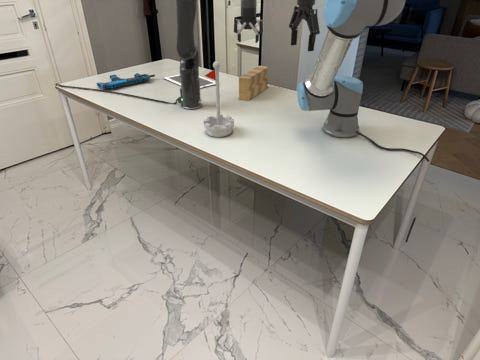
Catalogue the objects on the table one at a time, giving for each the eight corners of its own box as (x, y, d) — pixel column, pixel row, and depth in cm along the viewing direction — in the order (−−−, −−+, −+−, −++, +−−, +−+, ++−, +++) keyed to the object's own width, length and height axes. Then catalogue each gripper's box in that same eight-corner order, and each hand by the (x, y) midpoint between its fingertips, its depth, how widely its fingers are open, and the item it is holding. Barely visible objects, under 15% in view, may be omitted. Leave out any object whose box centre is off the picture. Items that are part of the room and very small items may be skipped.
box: (258, 85, 203) (259, 65, 197) (267, 87, 201) (268, 66, 194) (238, 99, 184) (238, 77, 177) (248, 100, 182) (248, 78, 175)
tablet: (163, 78, 216) (163, 77, 215) (189, 72, 227) (189, 71, 226) (191, 90, 195) (191, 90, 195) (219, 83, 206) (219, 83, 206)
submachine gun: (140, 68, 226) (159, 74, 209) (142, 73, 228) (160, 80, 211) (89, 77, 207) (104, 85, 190) (90, 84, 209) (106, 92, 192)
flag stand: (228, 123, 156) (226, 56, 140) (238, 135, 146) (237, 63, 130) (200, 127, 152) (195, 59, 136) (209, 140, 142) (205, 67, 126)
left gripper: (232, 6, 160) (232, 43, 169) (262, 7, 158) (260, 44, 167) (235, 5, 166) (236, 40, 175) (264, 5, 164) (263, 41, 173)
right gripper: (283, -8, 150) (280, 43, 161) (317, -3, 131) (311, 54, 142) (297, -8, 152) (293, 42, 164) (332, -4, 133) (325, 52, 145)
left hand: (248, 42), depth 171 cm, fingers open, 8 cm apart
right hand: (301, 48), depth 153 cm, fingers open, 13 cm apart
